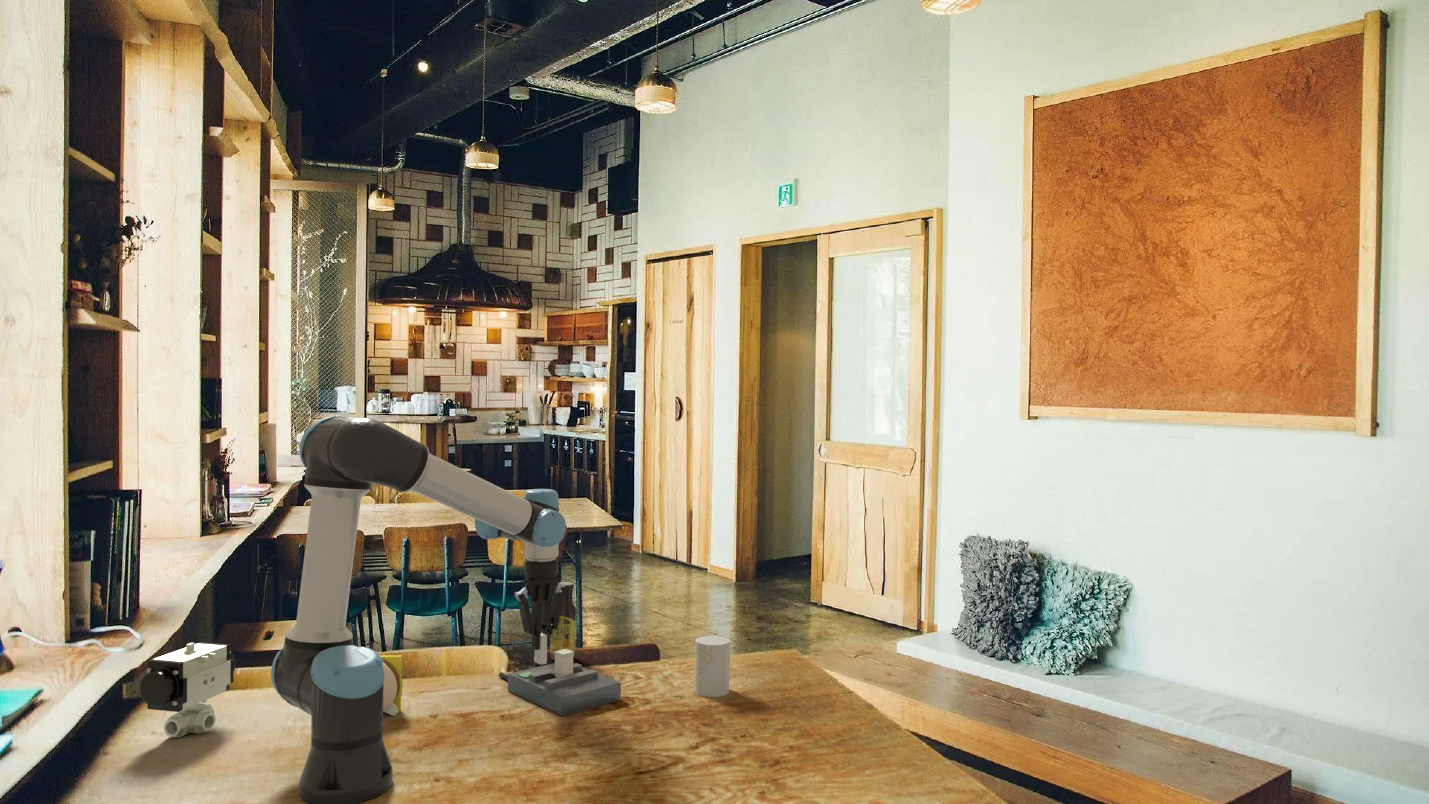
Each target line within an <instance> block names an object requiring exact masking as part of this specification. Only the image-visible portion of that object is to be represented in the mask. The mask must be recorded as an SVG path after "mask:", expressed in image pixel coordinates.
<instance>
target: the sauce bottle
mask: <svg viewBox="0 0 1429 804" xmlns="http://www.w3.org/2000/svg"><path fill="white" fill-rule="evenodd" d="M559 583H560V584H561V585H564V586H567V588H568V589H567V591H566V593H565V595H564V598H563V603H562V608H561V613H560V618H559V623H558V627H557V629H554V630H552V631H553V633H552V634H550V645H549V647H550V648H549V649H550V651H549V653H550V659H551V660H553V661H555V655H554V651H556V650H563V649H568V650H571V651H573V652H574V653H575V649H576V648H575V647H576V646H575V645H576V628H577V627H576V624H577V619H576V617H577V616H576V615H577V608H576V606H575V604H574V601H573V595H574V594H573V592H574V586H575V585H574V582H571V581H559ZM574 656H575V654H574V655H573V657H574Z"/></svg>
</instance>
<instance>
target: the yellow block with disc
mask: <svg viewBox="0 0 1429 804" xmlns="http://www.w3.org/2000/svg"><path fill="white" fill-rule="evenodd" d="M380 656H381V658H382V661H383V670H384V676H385V678H384V689H383V713H386V714H389V715H390V716H393V717H394V716H396V715H397V714H398V713H400V712H401V711H402V696H403V667H402V665H403V663H402V662H403V660H402V659H403V658H402V657H403V655H380Z"/></svg>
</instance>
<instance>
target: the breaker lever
mask: <svg viewBox="0 0 1429 804" xmlns="http://www.w3.org/2000/svg"><path fill="white" fill-rule="evenodd" d="M554 655H555V660H554V663H555V677H557V678H558V677H562V676H566V675H570V674H573V664H574V656H575V651H574V652H573V651H571V650H568V649H563V650H558V651H554ZM573 655H574V656H573Z"/></svg>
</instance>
